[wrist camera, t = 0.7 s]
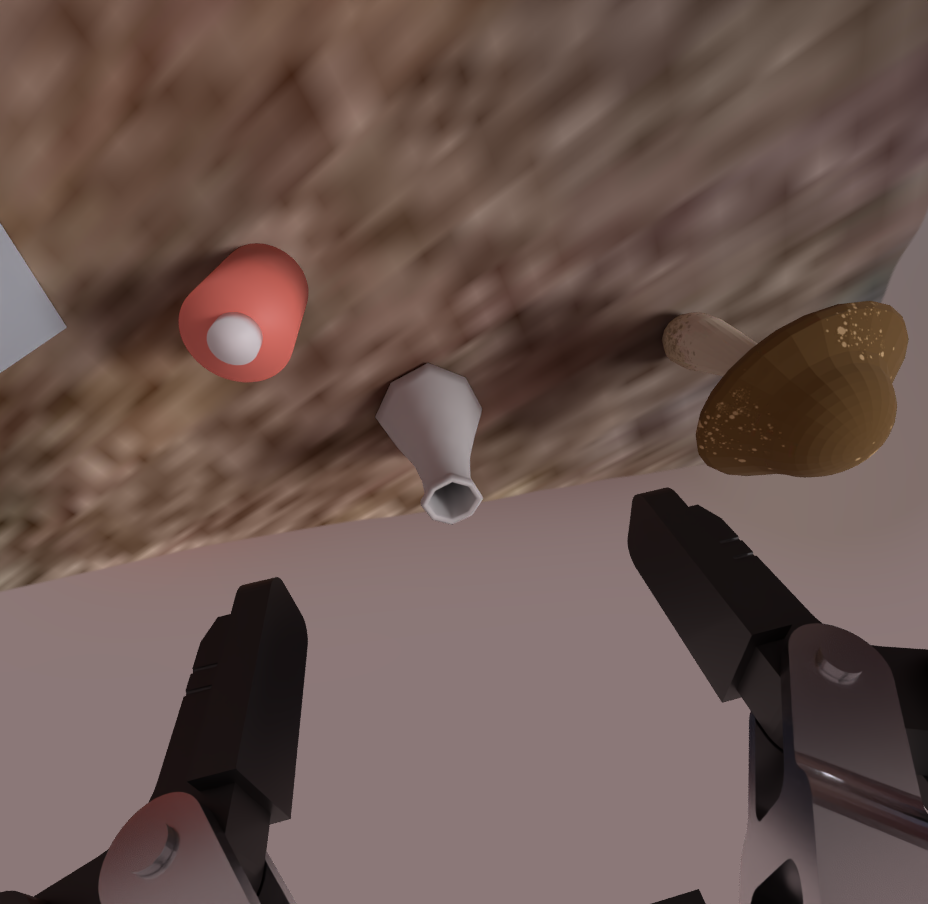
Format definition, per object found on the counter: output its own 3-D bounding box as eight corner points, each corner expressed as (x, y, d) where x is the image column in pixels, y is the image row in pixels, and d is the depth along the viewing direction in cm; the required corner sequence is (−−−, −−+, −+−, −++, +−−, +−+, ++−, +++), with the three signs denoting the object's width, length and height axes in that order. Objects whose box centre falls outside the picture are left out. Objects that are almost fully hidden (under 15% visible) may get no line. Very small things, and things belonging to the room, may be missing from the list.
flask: (427, 342, 30) (452, 422, 22) (498, 405, 33) (542, 492, 25) (356, 416, 32) (356, 513, 24) (431, 467, 36) (452, 566, 28)
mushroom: (770, 329, 34) (994, 438, 22) (634, 414, 36) (771, 555, 24) (746, 217, 29) (1024, 280, 17) (589, 325, 31) (735, 448, 19)
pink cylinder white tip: (206, 250, 24) (148, 297, 18) (293, 237, 25) (269, 278, 18) (240, 332, 27) (201, 400, 20) (318, 319, 28) (305, 382, 21)
